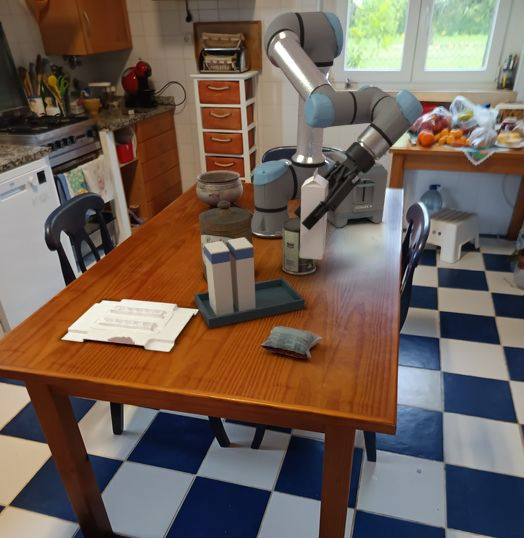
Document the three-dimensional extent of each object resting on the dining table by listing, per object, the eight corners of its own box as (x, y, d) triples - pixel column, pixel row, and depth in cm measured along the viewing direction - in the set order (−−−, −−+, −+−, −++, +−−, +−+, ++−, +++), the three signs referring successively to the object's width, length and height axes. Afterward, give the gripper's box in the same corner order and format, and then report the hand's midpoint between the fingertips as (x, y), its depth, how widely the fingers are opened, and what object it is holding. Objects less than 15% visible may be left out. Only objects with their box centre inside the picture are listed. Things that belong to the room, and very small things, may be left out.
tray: (195, 302, 130) (194, 294, 129) (282, 285, 137) (282, 277, 136) (209, 328, 119) (208, 319, 117) (304, 308, 126) (304, 299, 125)
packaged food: (274, 335, 115) (274, 317, 113) (322, 345, 111) (323, 326, 108) (259, 354, 109) (258, 336, 106) (309, 366, 105) (310, 347, 102)
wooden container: (195, 281, 141) (187, 206, 129) (217, 262, 152) (211, 191, 140) (243, 288, 136) (239, 211, 124) (261, 268, 148) (259, 195, 136)
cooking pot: (237, 216, 189) (235, 184, 183) (190, 215, 192) (187, 183, 185) (248, 197, 210) (247, 168, 203) (205, 196, 213) (203, 167, 206)
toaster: (339, 232, 172) (343, 172, 161) (310, 204, 199) (311, 152, 188) (387, 226, 176) (394, 167, 164) (352, 200, 203) (356, 148, 191)
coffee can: (317, 262, 151) (319, 217, 143) (314, 276, 142) (315, 229, 134) (285, 260, 152) (285, 216, 145) (279, 274, 144) (279, 228, 136)
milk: (299, 258, 130) (300, 173, 117) (303, 249, 135) (305, 167, 122) (322, 260, 128) (325, 174, 116) (325, 251, 133) (329, 168, 121)
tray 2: (102, 300, 133) (100, 288, 131) (199, 312, 128) (198, 300, 126) (60, 339, 116) (56, 326, 114) (170, 355, 111) (168, 342, 109)
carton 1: (209, 305, 128) (203, 243, 118) (226, 301, 129) (221, 240, 120) (216, 316, 122) (210, 253, 113) (233, 313, 124) (229, 250, 114)
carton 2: (231, 300, 129) (227, 239, 120) (247, 297, 131) (244, 237, 121) (239, 311, 124) (235, 249, 115) (255, 308, 125) (253, 246, 116)
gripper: (392, 172, 112) (321, 244, 119) (360, 153, 129) (300, 217, 136) (372, 149, 109) (301, 225, 115) (343, 132, 125) (282, 200, 132)
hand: (301, 221), depth 126 cm, fingers closed on milk, 8 cm apart
